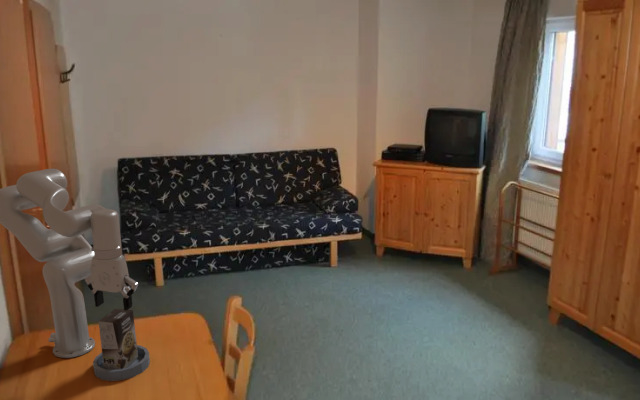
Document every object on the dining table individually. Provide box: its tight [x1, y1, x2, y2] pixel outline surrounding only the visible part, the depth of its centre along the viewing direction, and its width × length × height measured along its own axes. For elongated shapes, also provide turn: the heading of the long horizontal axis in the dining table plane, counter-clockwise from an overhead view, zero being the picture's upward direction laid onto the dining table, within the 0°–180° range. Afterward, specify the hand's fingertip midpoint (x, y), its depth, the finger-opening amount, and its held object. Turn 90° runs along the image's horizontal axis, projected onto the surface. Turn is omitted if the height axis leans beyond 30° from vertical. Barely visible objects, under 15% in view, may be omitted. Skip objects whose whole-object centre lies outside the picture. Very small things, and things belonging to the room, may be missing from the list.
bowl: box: [92, 344, 151, 382], centre depth 172 cm, size 16×16×3 cm
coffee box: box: [98, 308, 138, 370], centre depth 170 cm, size 9×6×16 cm
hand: (113, 306), depth 168 cm, fingers open, 9 cm apart
